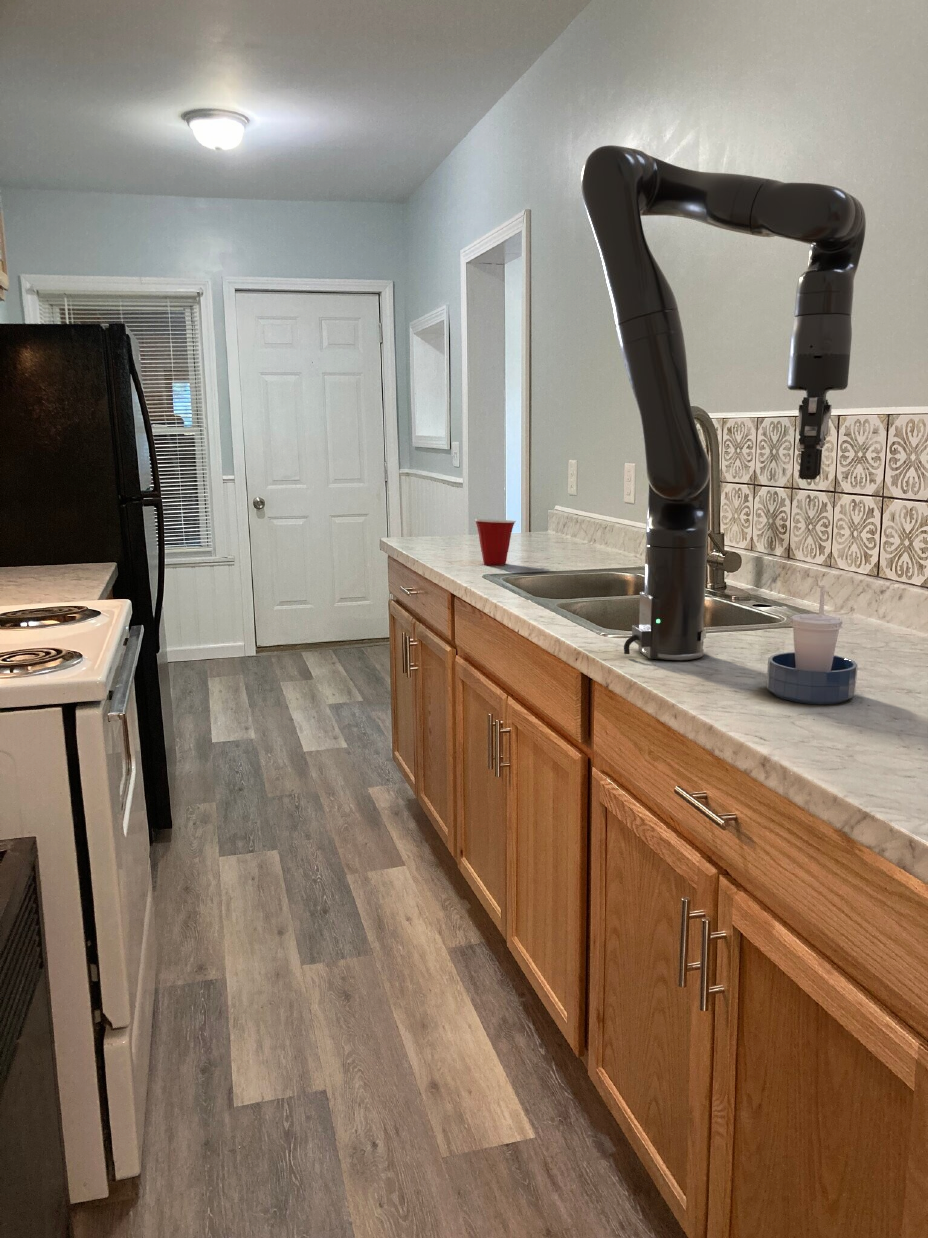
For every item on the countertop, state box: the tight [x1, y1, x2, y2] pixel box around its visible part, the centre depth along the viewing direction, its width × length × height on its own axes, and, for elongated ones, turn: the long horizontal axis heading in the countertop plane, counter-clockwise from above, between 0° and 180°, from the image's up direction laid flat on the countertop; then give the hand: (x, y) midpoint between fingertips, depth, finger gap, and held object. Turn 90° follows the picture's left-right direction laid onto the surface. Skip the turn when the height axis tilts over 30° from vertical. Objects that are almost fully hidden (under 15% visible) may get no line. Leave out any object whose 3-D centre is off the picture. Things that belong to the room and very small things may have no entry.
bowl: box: [766, 651, 858, 705], centre depth 128 cm, size 11×11×4 cm
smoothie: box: [789, 584, 843, 671], centre depth 127 cm, size 6×6×14 cm
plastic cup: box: [474, 518, 517, 567], centre depth 251 cm, size 11×11×12 cm
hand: (809, 477), depth 130 cm, fingers open, 8 cm apart
